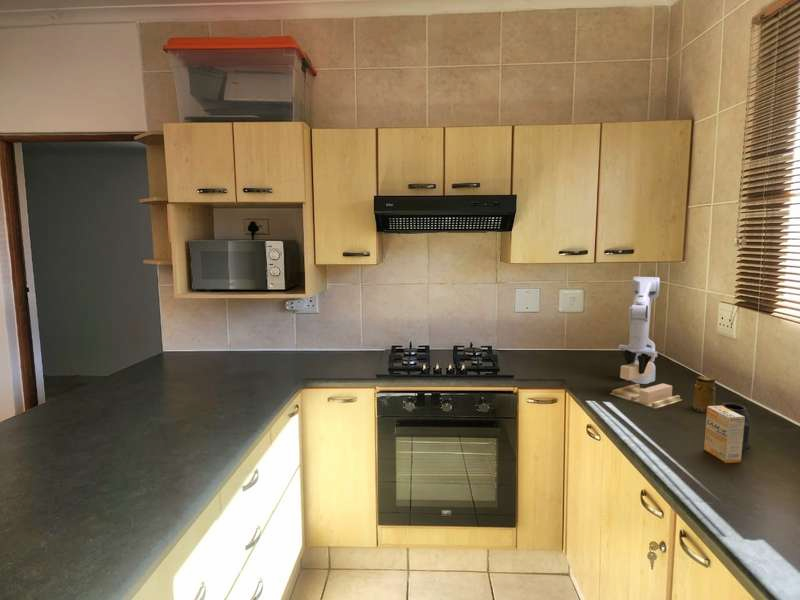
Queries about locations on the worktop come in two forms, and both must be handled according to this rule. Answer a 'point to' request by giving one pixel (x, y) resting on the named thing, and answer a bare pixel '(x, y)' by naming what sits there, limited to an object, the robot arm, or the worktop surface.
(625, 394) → the rack
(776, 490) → the worktop surface
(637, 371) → the clay bar
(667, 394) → the clay bar
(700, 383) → the condiment
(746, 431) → the mug
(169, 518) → the worktop surface
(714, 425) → the supplement box
